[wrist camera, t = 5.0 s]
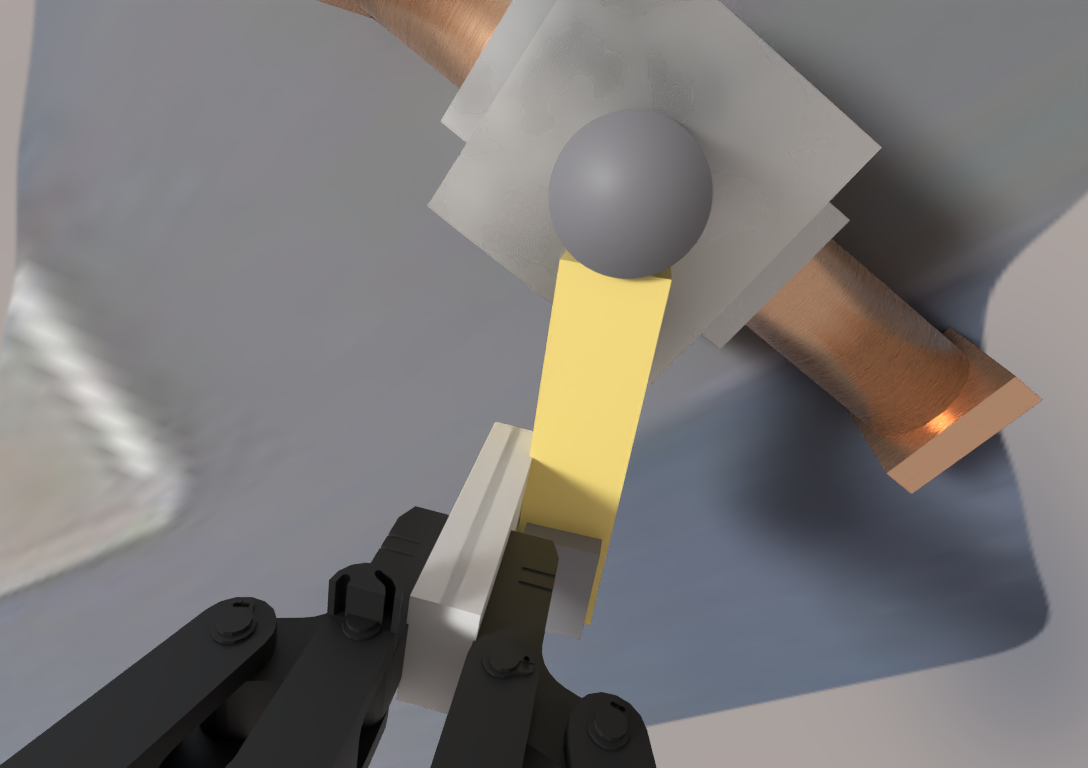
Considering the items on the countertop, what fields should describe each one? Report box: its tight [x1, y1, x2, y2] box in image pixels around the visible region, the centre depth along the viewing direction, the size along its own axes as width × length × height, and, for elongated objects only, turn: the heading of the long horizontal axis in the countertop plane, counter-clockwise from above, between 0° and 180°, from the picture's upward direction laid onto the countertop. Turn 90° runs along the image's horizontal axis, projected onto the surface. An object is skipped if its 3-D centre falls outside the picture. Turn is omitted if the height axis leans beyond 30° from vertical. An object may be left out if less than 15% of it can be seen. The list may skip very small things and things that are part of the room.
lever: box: [518, 109, 713, 640], centre depth 15 cm, size 13×3×4 cm, turn 172°
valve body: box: [317, 0, 1042, 494], centre depth 19 cm, size 8×26×8 cm, turn 53°
